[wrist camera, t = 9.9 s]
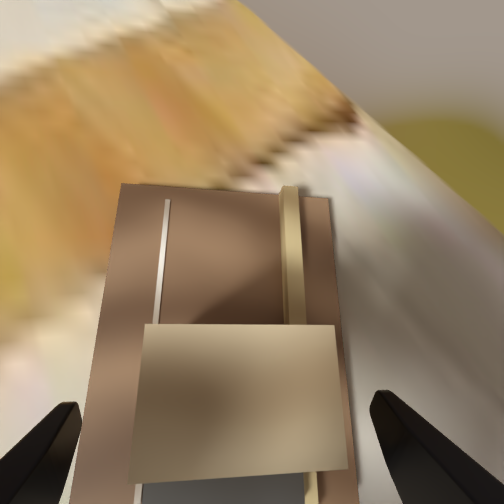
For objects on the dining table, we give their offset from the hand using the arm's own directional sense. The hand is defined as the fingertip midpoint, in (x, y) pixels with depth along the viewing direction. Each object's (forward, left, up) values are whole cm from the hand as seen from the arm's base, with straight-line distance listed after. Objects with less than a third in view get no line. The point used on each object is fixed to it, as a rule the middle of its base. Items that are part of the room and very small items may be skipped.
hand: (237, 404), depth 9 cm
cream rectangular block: (0, 0, -8) cm, 8 cm away
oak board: (+3, 0, -9) cm, 9 cm away
